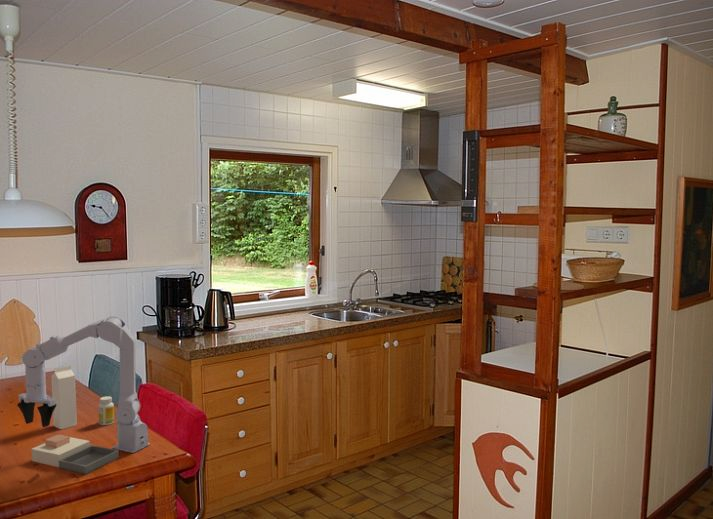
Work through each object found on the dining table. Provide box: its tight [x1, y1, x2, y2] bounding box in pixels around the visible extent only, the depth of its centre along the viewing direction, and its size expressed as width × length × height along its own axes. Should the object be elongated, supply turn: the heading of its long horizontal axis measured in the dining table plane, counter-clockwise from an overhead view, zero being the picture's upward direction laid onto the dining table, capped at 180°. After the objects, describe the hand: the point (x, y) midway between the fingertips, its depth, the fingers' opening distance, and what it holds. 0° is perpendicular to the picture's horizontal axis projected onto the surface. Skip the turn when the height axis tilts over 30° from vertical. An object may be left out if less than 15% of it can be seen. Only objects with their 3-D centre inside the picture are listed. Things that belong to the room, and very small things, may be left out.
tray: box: [58, 444, 120, 475], centre depth 191 cm, size 11×13×2 cm
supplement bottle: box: [97, 395, 115, 426], centre depth 225 cm, size 5×5×10 cm
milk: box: [50, 365, 78, 430], centre depth 222 cm, size 6×6×22 cm
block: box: [44, 433, 70, 448], centre depth 195 cm, size 5×5×2 cm
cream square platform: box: [30, 436, 91, 468], centre depth 195 cm, size 12×12×4 cm
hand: (37, 424), depth 198 cm, fingers open, 7 cm apart
